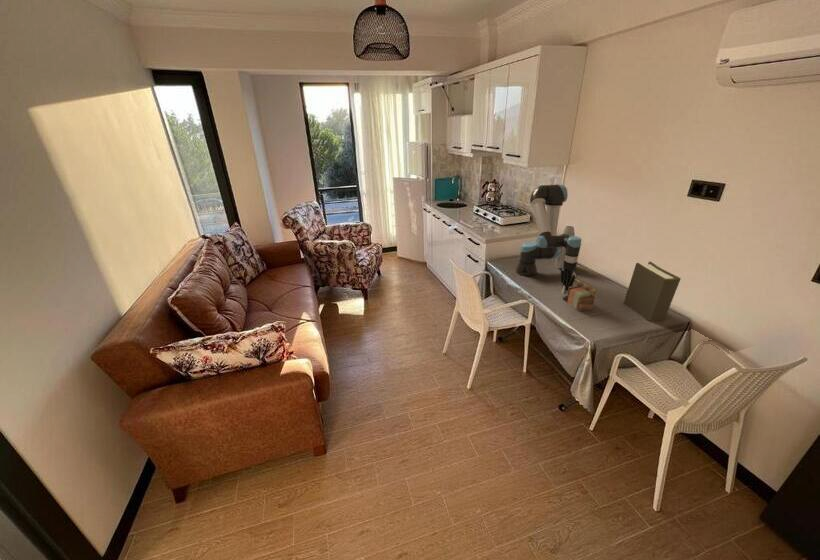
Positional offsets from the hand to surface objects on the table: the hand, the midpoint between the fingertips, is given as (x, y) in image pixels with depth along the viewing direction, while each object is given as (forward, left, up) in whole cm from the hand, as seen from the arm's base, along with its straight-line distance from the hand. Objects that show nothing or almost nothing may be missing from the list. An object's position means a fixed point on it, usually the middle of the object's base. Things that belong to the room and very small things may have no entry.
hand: (564, 293), depth 216 cm
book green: (+14, 0, -2) cm, 14 cm away
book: (+33, +30, -2) cm, 44 cm away
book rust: (+10, 0, -2) cm, 10 cm away
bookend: (+6, 0, -1) cm, 6 cm away
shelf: (+7, +1, -2) cm, 7 cm away
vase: (-38, +31, -2) cm, 49 cm away
